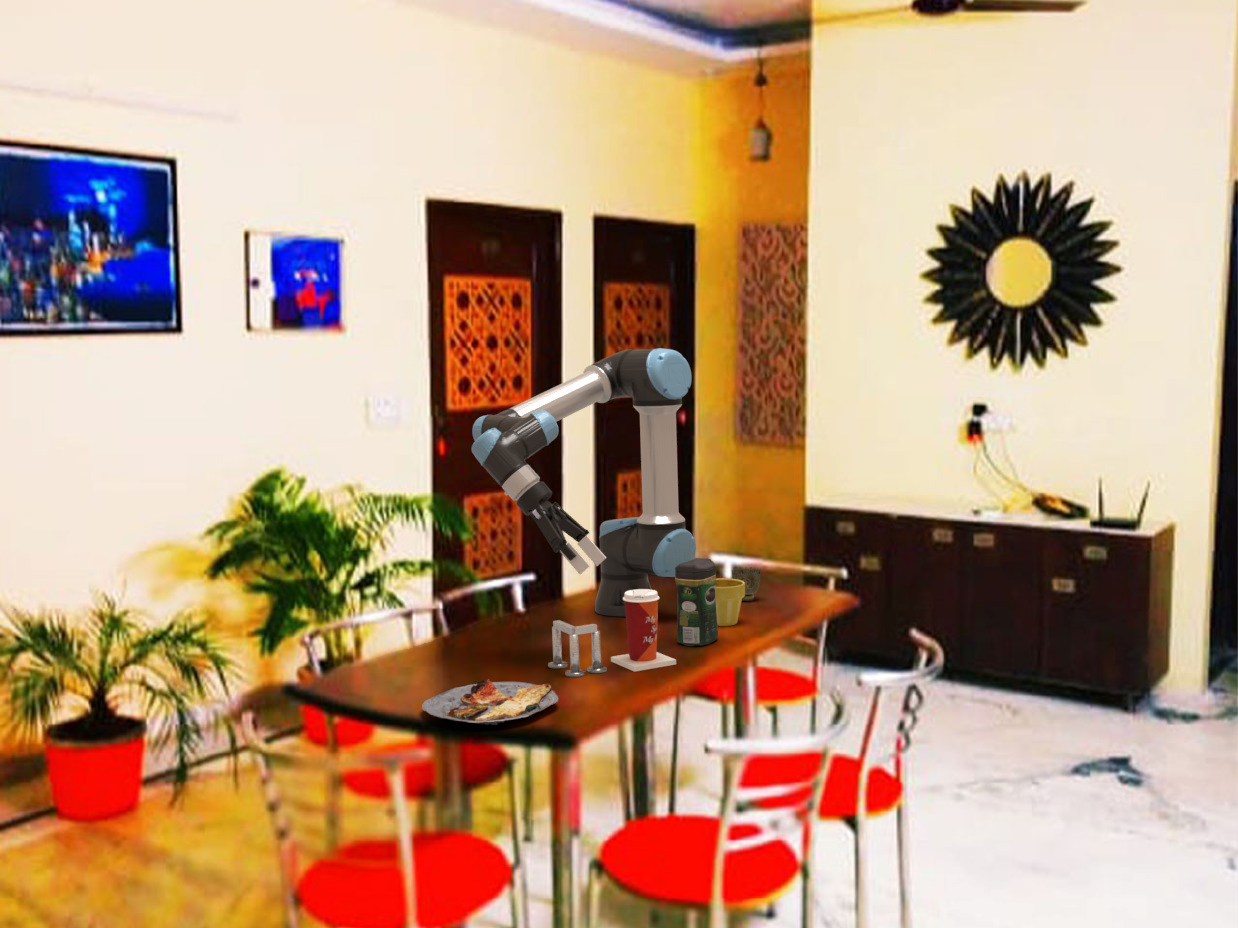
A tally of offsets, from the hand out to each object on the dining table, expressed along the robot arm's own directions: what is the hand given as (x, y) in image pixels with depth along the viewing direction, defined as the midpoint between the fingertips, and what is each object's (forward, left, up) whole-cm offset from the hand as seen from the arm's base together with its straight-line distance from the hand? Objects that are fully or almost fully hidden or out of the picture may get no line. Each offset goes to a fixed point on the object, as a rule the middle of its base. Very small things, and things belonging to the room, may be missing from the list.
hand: (593, 566), depth 274 cm
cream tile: (+9, +6, -20) cm, 23 cm away
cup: (-30, +59, -20) cm, 69 cm away
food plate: (+22, -34, -20) cm, 45 cm away
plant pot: (-12, +40, -20) cm, 47 cm away
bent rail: (+5, -7, -20) cm, 22 cm away
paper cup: (+9, +6, -19) cm, 22 cm away
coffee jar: (0, +25, -20) cm, 32 cm away
